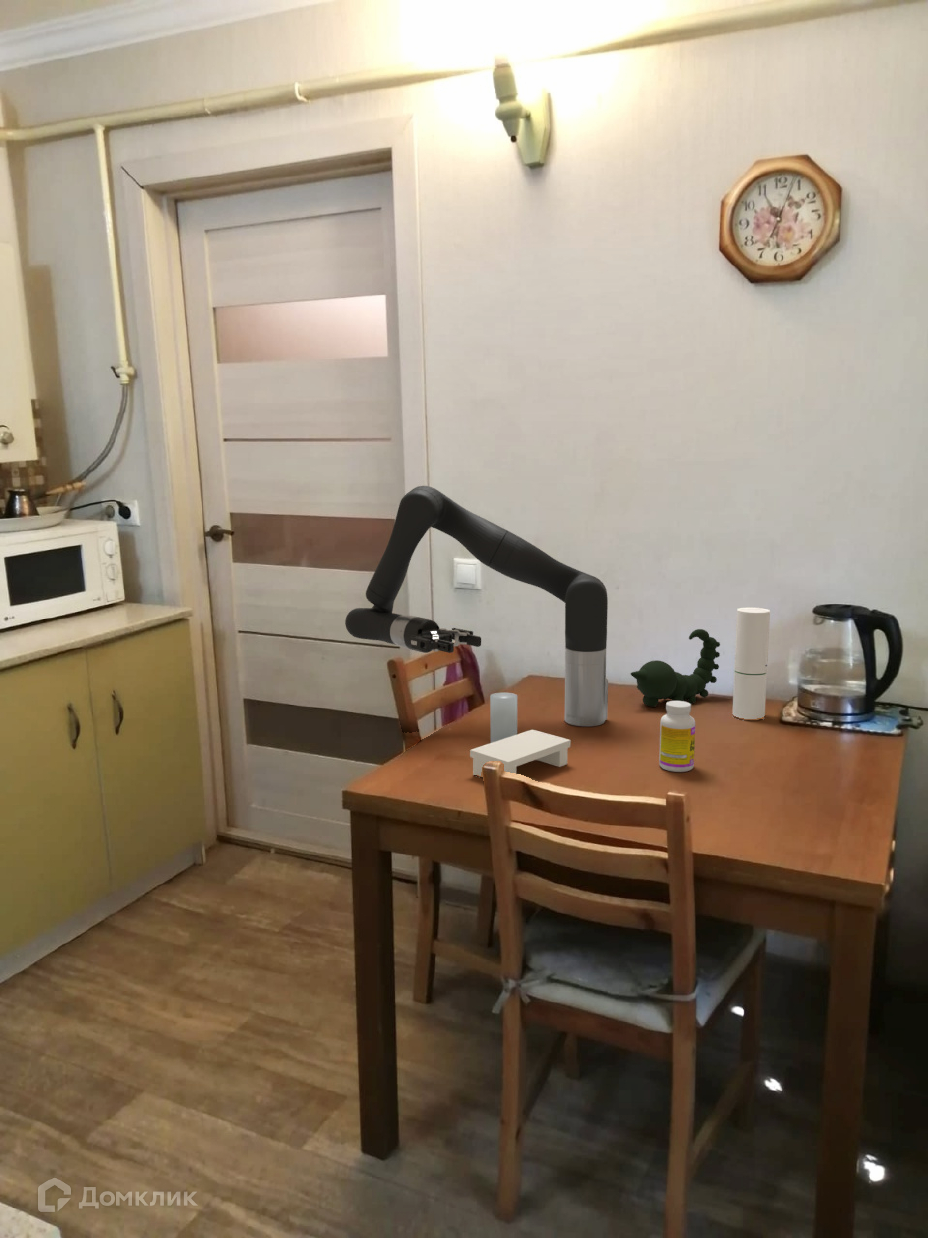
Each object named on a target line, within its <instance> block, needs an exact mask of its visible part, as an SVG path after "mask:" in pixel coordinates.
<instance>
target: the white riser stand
mask: <svg viewBox="0 0 928 1238" xmlns="http://www.w3.org/2000/svg"><path fill="white" fill-rule="evenodd" d="M568 748H571V739H570V738H569V739H568V738H565V737H561V736H557V735H554V734H550V733H548V732H547V733H546V732H543V731H539V730H536V729H530V730H529V729H528V730H526V731H523V732H521V733H517V735H514V736H511V737H508V738H505V739H502V740H499V741H496V742H493V743H491V742H490V743H486V744H484V745H481V746H477V747H475V748H472V749H470V750H469V758H472V775H473V776H474V775H479V776H481V772H482V767H483V765H484V764H485V763H486V762H489V761H501V762H502V763H503V764H504V771H505V772H510V773H516V774H517V767H519V766H522V765H524V764H527V763H529V762H533V761H539V762H541V763H545V764H549V765H552V766H555V767H558V768H561V767H563V766H565V765H568Z"/></svg>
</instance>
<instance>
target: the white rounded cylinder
mask: <svg viewBox="0 0 928 1238" xmlns="http://www.w3.org/2000/svg"><path fill="white" fill-rule="evenodd" d="M489 698H490V712H489V713H490V715H489V716H490V743H493V742H496V741H499V740H502V739H505V738H508V737H511V736H514V735H517V734H518V695H517V694H515V693H512V692H506V691H505V692H495V693H491V694H490V697H489Z"/></svg>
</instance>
